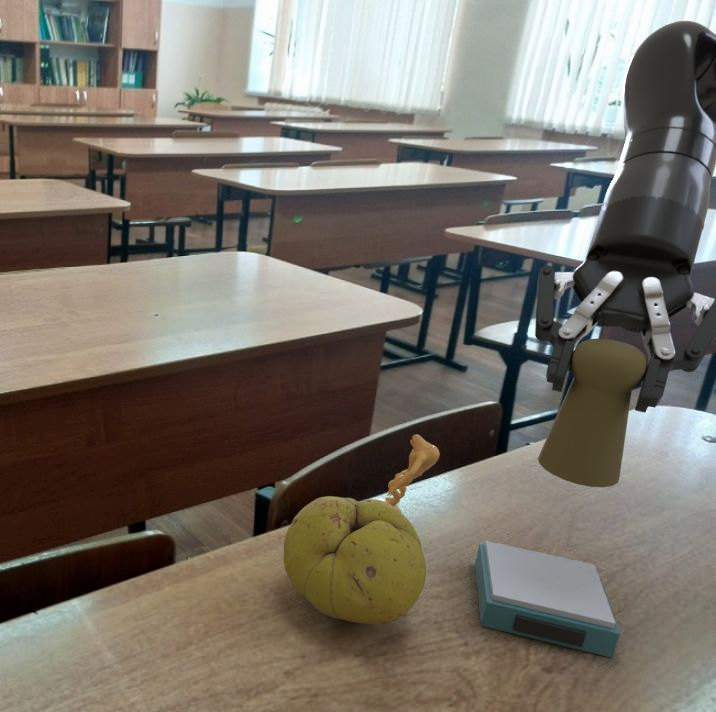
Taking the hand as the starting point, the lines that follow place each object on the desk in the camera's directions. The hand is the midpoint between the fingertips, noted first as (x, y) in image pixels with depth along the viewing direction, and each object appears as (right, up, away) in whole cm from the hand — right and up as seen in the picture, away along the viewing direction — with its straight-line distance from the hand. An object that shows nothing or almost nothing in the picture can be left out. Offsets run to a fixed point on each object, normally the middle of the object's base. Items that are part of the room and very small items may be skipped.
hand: (599, 396), depth 56 cm
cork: (+1, -6, +4) cm, 8 cm away
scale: (-1, -19, +8) cm, 21 cm away
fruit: (-18, -19, +7) cm, 27 cm away
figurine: (-11, -16, +17) cm, 25 cm away
